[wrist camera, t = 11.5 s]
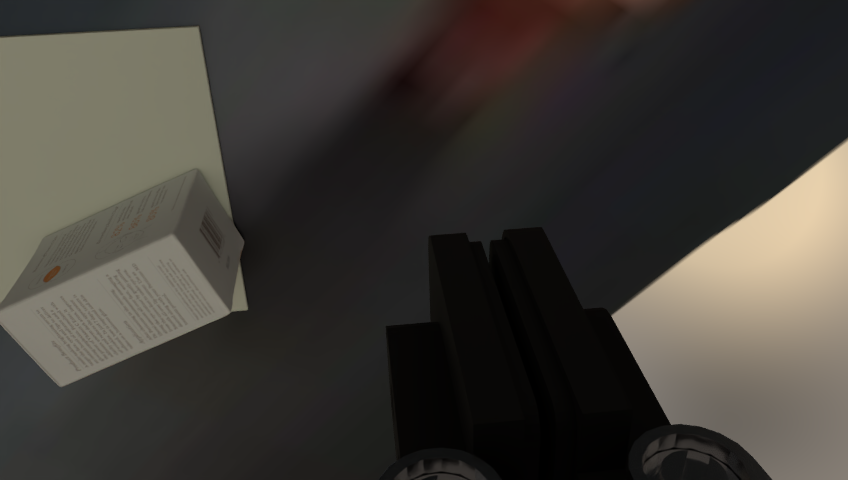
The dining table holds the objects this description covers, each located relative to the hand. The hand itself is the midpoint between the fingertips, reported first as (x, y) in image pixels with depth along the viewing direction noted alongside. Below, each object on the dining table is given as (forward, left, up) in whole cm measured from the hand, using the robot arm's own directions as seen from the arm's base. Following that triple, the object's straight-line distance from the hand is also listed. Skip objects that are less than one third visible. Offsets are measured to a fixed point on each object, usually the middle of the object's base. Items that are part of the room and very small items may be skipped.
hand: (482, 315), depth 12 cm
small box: (+10, +13, -28) cm, 32 cm away
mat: (+17, +12, -32) cm, 38 cm away
